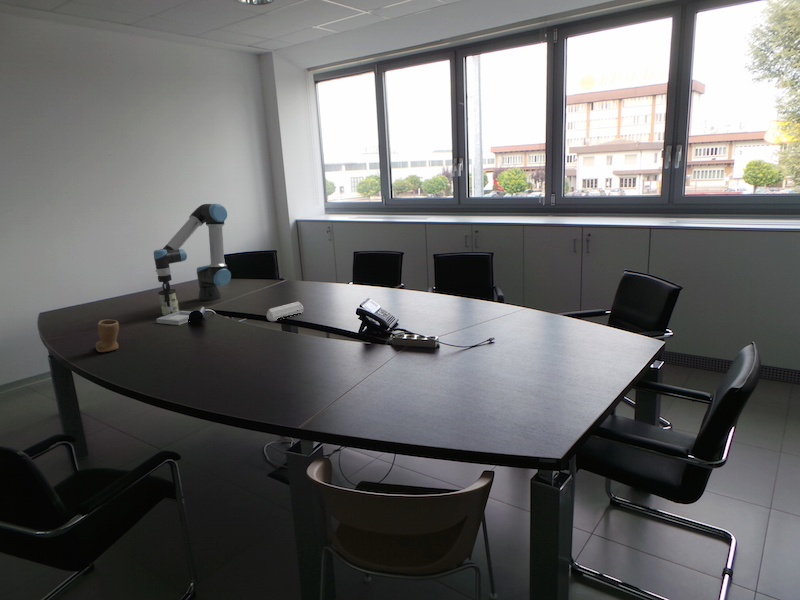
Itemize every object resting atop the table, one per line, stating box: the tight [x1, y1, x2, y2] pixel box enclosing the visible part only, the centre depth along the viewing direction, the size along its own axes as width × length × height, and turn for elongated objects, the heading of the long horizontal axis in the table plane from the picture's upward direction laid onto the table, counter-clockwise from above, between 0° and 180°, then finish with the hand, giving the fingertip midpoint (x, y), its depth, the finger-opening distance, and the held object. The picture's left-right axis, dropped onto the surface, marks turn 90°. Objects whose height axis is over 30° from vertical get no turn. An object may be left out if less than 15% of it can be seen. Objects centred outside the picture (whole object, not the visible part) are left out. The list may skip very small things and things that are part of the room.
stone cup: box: [95, 319, 120, 353], centre depth 264 cm, size 15×12×15 cm
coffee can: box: [157, 288, 181, 316], centre depth 326 cm, size 10×10×14 cm
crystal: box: [266, 301, 304, 322], centre depth 306 cm, size 7×7×24 cm
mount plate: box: [156, 310, 192, 326], centre depth 314 cm, size 18×18×2 cm
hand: (170, 309), depth 328 cm, fingers closed on coffee can, 10 cm apart
